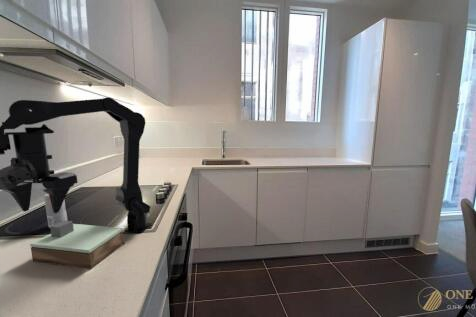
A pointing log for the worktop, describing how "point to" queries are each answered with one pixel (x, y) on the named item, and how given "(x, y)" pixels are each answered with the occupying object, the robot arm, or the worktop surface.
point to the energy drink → (54, 217)
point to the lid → (76, 237)
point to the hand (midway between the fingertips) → (41, 211)
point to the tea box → (77, 254)
